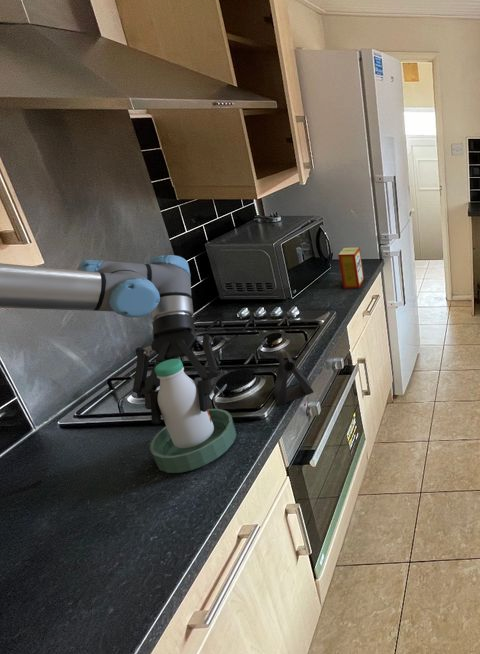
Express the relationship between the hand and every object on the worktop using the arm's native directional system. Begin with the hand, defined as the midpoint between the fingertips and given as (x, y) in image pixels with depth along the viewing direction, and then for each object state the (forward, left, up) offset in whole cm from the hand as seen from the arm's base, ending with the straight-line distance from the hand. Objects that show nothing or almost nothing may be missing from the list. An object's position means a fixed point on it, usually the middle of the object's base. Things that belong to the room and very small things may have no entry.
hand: (180, 416), depth 90 cm
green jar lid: (-1, +3, -12) cm, 12 cm away
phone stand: (+17, +18, -12) cm, 28 cm away
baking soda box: (+31, +93, -12) cm, 98 cm away
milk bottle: (-1, +3, -9) cm, 9 cm away
